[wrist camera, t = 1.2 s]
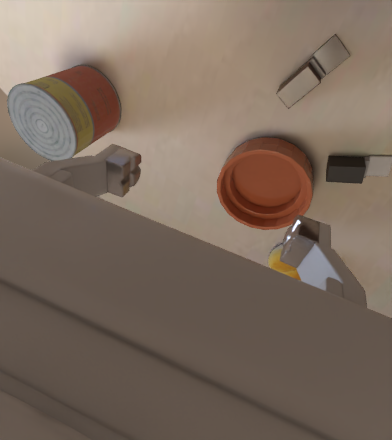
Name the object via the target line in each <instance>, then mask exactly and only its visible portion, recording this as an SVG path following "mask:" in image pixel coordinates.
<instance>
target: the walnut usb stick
mask: <svg viewBox="0 0 392 440" xmlns="http://www.w3.org/2000/svg"><path fill="white" fill-rule="evenodd" d="M348 57H350V55H349V53H348V52H347V50H346V49H345V47H344V46H343V44H342V43H341V42H340V40H339V39H338V37H337V36H336V34H335V35H334V36H333V37H332V38H330V39H329V40H328V41H327V42H326V43H325V44H324V45H323V46H321V47H320V48H319V49H318V50H317V51H316V52H315V53H314V54H313V57H312V58H311V59H309V61H308V62H307V63H306V64H305V65H303V66H302V67H301V68H300V69H299V70H298V71H297V72H296V73H294V74H293V75H292V76H291V77H290V78H289V79H288V80H287V81H285V82H284V83H283V84H282V85H281V86H280V87H279V89H278V91H277V93H276V94H277V95H278V97H279V98H280V99H281V100H282V101H283V103H284V104H285V105H286V106H287V108H288V109H289V108H290V107H291V106H293V105H294V104H295V103H296V102H297V101H299V100H300V99H301V98H302V97H304V96H305V95H306V94H307V93H309V92H310V91H311V90H312V89H314V88H315V87H316V86H317V85H319V84H320V83H321V79H322V78H323V77H325V76H326V74H329V73H330V72H331V71H332V70H334V69H335V68H336V67H337V66H338V65H340V64H341V63H342V62H343V61H345V60H346V59H347V58H348Z"/></svg>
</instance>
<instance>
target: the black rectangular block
mask: <svg viewBox="0 0 392 440" xmlns="http://www.w3.org/2000/svg"><path fill="white" fill-rule="evenodd" d="M391 166H392V156H376V155H369V157H348V156H329V157H328V163H327V169H326V182H342V183H360V184H362V182H363V178H365V177H366V176H385V177H388V175H389V172H390V169H391Z"/></svg>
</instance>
